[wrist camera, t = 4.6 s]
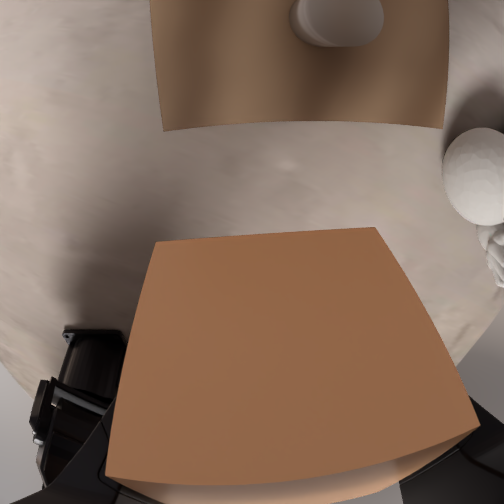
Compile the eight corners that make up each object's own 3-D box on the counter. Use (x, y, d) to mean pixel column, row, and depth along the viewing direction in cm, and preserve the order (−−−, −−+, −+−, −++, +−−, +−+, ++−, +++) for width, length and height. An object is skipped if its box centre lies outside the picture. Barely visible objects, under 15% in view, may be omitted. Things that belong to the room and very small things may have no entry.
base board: (168, 125, 16) (145, 156, 11) (153, -52, 9) (125, -88, 5) (429, 122, 16) (483, 152, 12) (431, -32, 10) (488, -41, 5)
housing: (193, 366, 12) (189, 513, 7) (155, 241, 8) (104, 475, 3) (342, 353, 12) (378, 491, 7) (374, 227, 8) (480, 425, 3)
